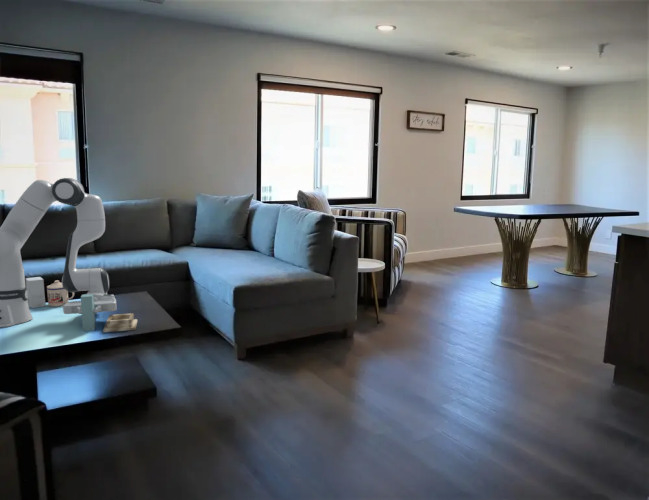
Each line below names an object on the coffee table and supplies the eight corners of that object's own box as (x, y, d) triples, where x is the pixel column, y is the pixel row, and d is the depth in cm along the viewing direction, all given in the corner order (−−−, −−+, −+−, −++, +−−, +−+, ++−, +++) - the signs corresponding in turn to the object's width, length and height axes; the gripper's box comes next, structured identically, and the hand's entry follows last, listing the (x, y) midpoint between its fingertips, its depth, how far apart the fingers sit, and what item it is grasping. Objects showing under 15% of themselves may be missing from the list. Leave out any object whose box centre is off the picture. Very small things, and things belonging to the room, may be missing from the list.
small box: (46, 306, 240) (43, 279, 238) (30, 308, 236) (28, 281, 234) (42, 302, 246) (40, 276, 244) (27, 304, 242) (25, 278, 240)
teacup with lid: (44, 307, 238) (42, 282, 236) (52, 302, 247) (50, 278, 245) (71, 306, 239) (69, 282, 238) (78, 301, 248) (76, 278, 247)
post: (83, 330, 203) (80, 296, 201) (84, 327, 207) (82, 294, 205) (93, 330, 204) (91, 296, 202) (95, 327, 208) (93, 293, 206)
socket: (103, 332, 202) (102, 322, 201) (107, 323, 213) (106, 314, 212) (135, 329, 205) (134, 320, 204) (137, 321, 216) (137, 312, 216)
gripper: (65, 297, 213) (58, 305, 200) (117, 294, 219) (114, 302, 206) (66, 311, 214) (59, 321, 201) (118, 308, 220) (115, 317, 207)
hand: (87, 311), depth 204 cm, fingers closed on post, 4 cm apart
